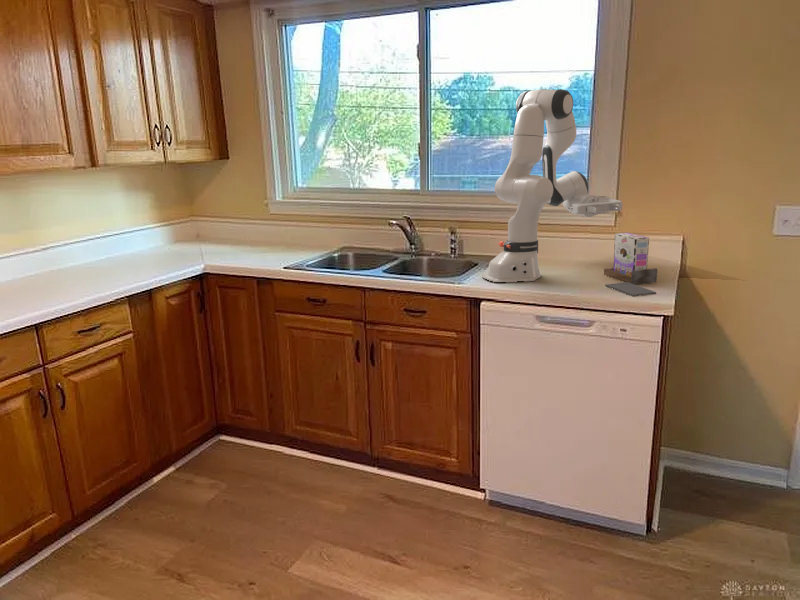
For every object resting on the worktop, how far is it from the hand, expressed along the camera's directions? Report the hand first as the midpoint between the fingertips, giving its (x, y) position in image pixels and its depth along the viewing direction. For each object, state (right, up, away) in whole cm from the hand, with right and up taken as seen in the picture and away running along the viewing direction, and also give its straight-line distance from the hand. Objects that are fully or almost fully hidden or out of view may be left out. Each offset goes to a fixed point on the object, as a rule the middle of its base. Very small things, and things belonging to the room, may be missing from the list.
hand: (608, 209), depth 241 cm
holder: (+5, -27, -8) cm, 29 cm away
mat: (-1, -32, -24) cm, 40 cm away
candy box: (+5, -27, -8) cm, 29 cm away
